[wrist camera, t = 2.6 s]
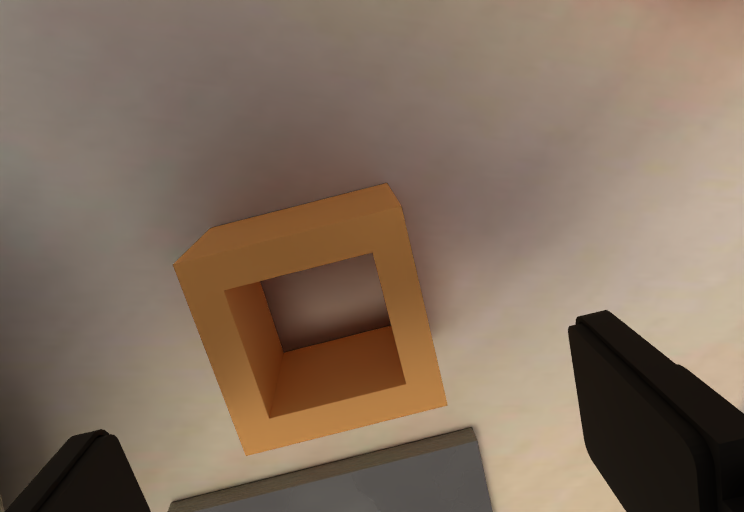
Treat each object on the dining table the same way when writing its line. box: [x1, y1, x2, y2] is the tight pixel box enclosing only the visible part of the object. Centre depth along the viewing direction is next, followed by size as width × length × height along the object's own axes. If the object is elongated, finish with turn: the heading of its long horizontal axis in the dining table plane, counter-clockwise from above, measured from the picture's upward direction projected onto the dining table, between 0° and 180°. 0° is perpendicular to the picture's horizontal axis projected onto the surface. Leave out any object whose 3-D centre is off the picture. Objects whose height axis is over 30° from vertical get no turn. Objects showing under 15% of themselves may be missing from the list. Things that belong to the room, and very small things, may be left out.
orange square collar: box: [173, 183, 447, 456], centre depth 16 cm, size 6×6×4 cm
